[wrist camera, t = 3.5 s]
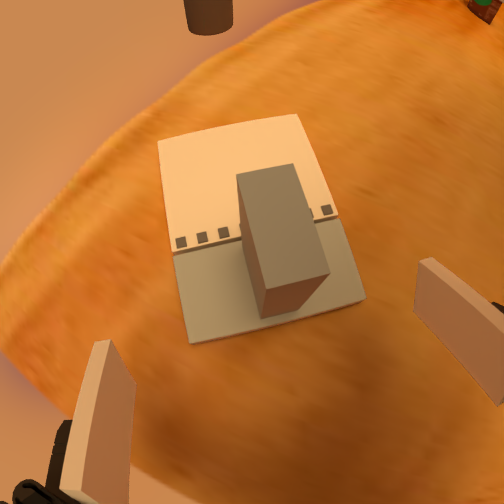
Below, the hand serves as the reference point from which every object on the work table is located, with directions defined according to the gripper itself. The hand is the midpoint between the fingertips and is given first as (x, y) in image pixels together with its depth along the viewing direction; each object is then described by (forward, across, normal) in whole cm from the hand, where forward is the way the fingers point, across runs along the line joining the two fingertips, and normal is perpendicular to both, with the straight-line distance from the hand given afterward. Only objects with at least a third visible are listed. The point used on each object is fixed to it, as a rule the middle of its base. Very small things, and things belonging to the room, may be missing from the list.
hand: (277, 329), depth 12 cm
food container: (+42, +64, +29) cm, 82 cm away
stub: (+9, +1, -4) cm, 10 cm away
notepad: (+15, +1, +2) cm, 15 cm away
